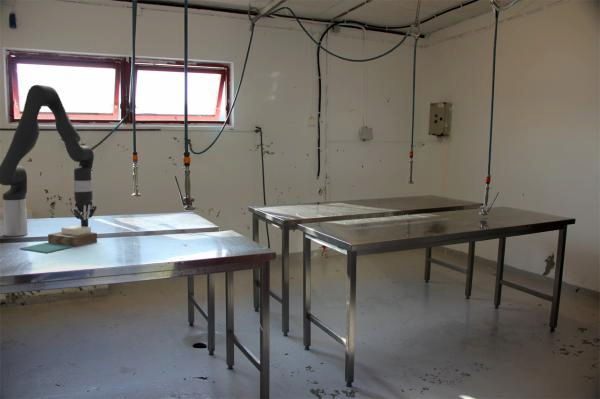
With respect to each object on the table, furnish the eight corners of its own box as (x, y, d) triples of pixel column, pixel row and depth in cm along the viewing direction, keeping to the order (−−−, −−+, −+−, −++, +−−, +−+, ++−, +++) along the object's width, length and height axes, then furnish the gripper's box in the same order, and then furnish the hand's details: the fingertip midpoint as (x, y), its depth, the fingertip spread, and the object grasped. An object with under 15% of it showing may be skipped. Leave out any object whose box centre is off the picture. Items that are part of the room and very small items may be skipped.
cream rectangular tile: (61, 233, 205) (61, 227, 205) (74, 230, 212) (74, 225, 212) (77, 235, 202) (77, 229, 201) (90, 232, 208) (90, 227, 208)
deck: (48, 243, 203) (47, 234, 203) (71, 238, 214) (71, 230, 213) (74, 246, 197) (74, 237, 196) (97, 241, 208) (96, 233, 207)
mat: (20, 249, 191) (20, 248, 191) (46, 243, 202) (46, 242, 202) (47, 253, 185) (47, 252, 185) (72, 247, 196) (72, 246, 196)
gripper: (89, 188, 217) (90, 224, 220) (64, 191, 205) (66, 229, 207) (100, 189, 215) (102, 226, 217) (77, 191, 202) (78, 230, 205)
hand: (84, 227), depth 212 cm, fingers closed
